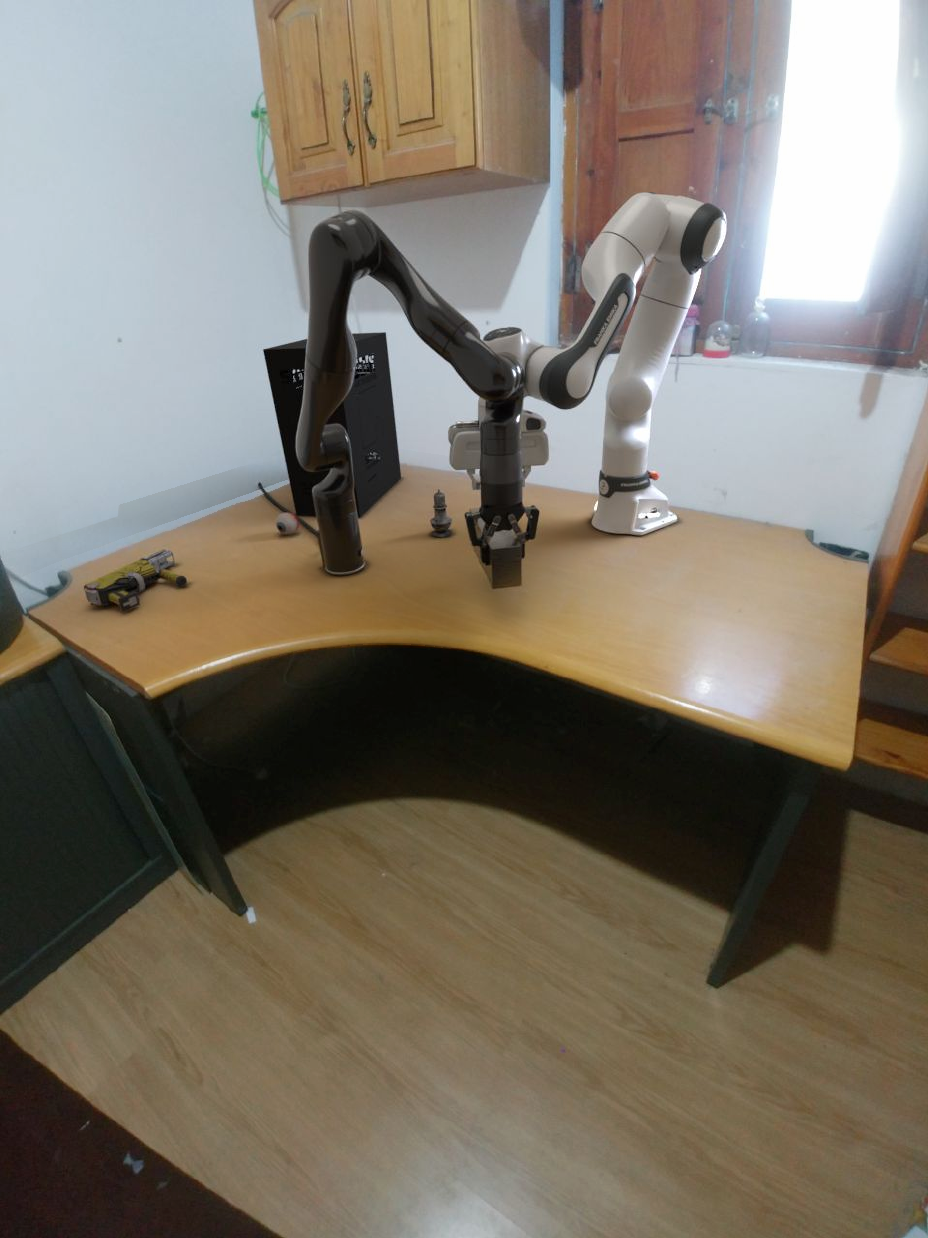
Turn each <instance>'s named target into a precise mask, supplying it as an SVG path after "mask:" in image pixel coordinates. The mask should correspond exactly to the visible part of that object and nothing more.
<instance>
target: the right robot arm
mask: <svg viewBox="0 0 928 1238" xmlns="http://www.w3.org/2000/svg"><path fill="white" fill-rule="evenodd" d="M727 230H728V224H727V218H726V213H725V212H724V210H722V208H720V207H718V206H716V205H714V204H712V203H710V202H705V203H704V202H702V201H699V200H697V199H694V198H691V197H688V196H683V195H672V194H661V193H657V194H656V193H655V192H653V191H644V192H638V193H635V194H634V195H632V196H631V197H630V198H628V199H627V201H625V203H624V204H623V205H622V206H621V207H620V208H619V209H618V210H617V211H616V212H615V213H614V214H613V215H612V217H611V218H610V219H609V221H608V222H607V223H606V224H605V226H604V227H603V228H602V229H601V231H600V232H599V234H598V235H597V237H596V238H595V240H594V241H593V242H592V244H591V246H590V247H589V249H588V251H587V252H586V254H585V257H584V259H583V261H582V264H581V269H580V270H581V271H580V272H581V280H582V285H583V287H584V288H585V290H586V292H587V293H588V294H589V295H590V297H591V298H592V299H593V301H594V307H593V310H592V311H591V313H590V315H589V316H588V318H587V320H586V322H585V324H584V325H583V327H582V329H581V331H580V332H579V334H578V337H577V338H576V340H575V341H574V342H573V343H572V344H571V345H569V346H567V347H564V348H558V347H553V346H549V345H544V344H543V343H540V342H538V341H536V340H534V339H533V338H532V337H530V336H528V335H527V334H526V333H525V332H524V331H523V329H522V328H520V327H516V326H507V327H499V328H495V329H493V330H491V331H488V333H486V334H485V335H484V336H483V338H482V339H481V340H482V341H483V342H484V343H485V344H486V345H487V346H488V347H489V348H490V349H491V350H493V351H494V352H495V353H496V354H497V353H500V352H509V353H512V354H514V355H515V356H517V357H518V359H519V360H520V361H521V363H522V365H523V368H524V374H525V388H524V398H523V402H524V400H525V398H527V397H530V398H533V399H536V400H538V401H542V402H546V403H547V404H549V405H551V406H553V407H555V408H557V409H559V410H564V411H565V410H572V409H575V408H577V407H578V406H580V405H581V404H582V403H584V401H585V400H586V399H587V398H588V397H589V395H590V394H591V391H592V389H593V387H594V384H595V381H596V379H597V375H598V373H599V370H600V367H601V366H602V363H603V361H604V360H605V358H606V356H607V354H608V352H609V351H610V349H611V347H612V345H613V343H614V341H615V339H616V338H617V336H618V335H619V333H620V330H621V329H622V327H623V326H624V323H625V321H626V319H627V317H628V316H629V313H630V312H631V310H632V307H633V304H634V302H635V299H636V295H637V289H636V287H637V285H638V282H639V281H640V279H641V277H642V276H643V274H644V273H645V272H646V270H647V269H648V267H649V265H650V264H651V262H652V261H654V263H653V265H652V266H651V268H650V271H649V273H648V275H647V278H646V279H645V281H644V283H643V286H642V288H641V292H640V295H639V297H638V299H637V302H636V305H635V308H634V311H633V313H632V316H631V319H630V322H629V324H628V328H627V329H626V333H625V335H624V338H623V342H622V345H621V347H620V351H619V354H618V357H617V360H616V361H615V365H614V368H613V371H612V372H611V374H610V376H609V378H608V381H607V385H606V390H605V413H604V423H603V424H604V427H603V438H602V439H603V440H602V453H601V468H600V470H599V474H598V492H599V493H598V498H597V502H596V503H595V506H594V514H593V517H592V520H591V525H592V526H593V527H594V528H595V529H597V530H599V531H601V532H605V533H611V534H623V535H625V534H626V535H632V536H633V535H634V536H645V535H646V534H650V533H652V532H654V531H657V530H660V529H662V528H665V527H668V526H670V525H672V524H675V523H677V522H678V516H677V515H676V514H675V513H674V512H672V511H670V503H669V502H670V501H669V498H668V497H667V496H666V495H665V494H664V493H663V492H661V491H660V490H659V489H658V488H656V487H655V486H654V485H652V483H651V480H653V481H658V479H659V478H660V473H659V472H657V471H654V470H651V471H649V470H648V469H647V466H648V458H649V457H648V455H649V446H650V436H651V419H652V407H653V404H654V402H655V400H656V397H657V394H658V391H659V389H660V386H661V385H662V384H661V383H662V380H663V378H664V376H665V373H666V370H667V367H668V364H669V361H670V358H671V355H672V352H673V349H674V346H675V344H676V341H677V340H678V337H679V334H680V331H681V330H682V327H683V324H684V322H685V319H686V317H687V315H688V312H689V309H690V307H691V305H692V302H693V299H694V296H695V293H696V290H697V287H698V284H699V280H700V276H701V272H702V269H703V268H705V267H706V266H708V265H709V264H710V263H711V262H712V261H713V260H715V257H716V256H717V255H718V253H719V252H720V250H721V248H722V246H723V244H724V241H725V239H726V235H727ZM485 402H486V400H484V399H482V398H481V397H479V396H478V400H477V420H467V421H455V423H453V424H451V425H450V427H449V428H448V431H447V433H448V434H447V439H448V442H449V444H450V446H449V454H448V455H449V459H448V460H449V465H450V467H451V468H452V469H453V470H454V471H466V473H467V475H468V477H469V479H470V480H471V489H472V491H481V485H480V478H479V479H476V478H475V477H474V475H476V470H480V457H481V444H480V425H481V421H482V419H483V417H484V414H485ZM520 427H521V456H522V488H525V486H526V479H527V478H528V476H529V475H530V473H531V471H532V467H538V466H545V465H546V464H547V463H548V462H549V459H550V440H549V435H548V434H547V432H546V431H545V429H546V428H547V420H546V419H545V418H544V417H543V416H542V415H540V414H538V413H537V412H534V411H530V410H527V409H524V405H523V406H522V413H521V421H520Z"/></svg>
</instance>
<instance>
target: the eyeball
mask: <svg viewBox="0 0 928 1238" xmlns="http://www.w3.org/2000/svg"><path fill="white" fill-rule="evenodd" d="M292 513H293V512H292ZM292 513H288V512H285V511H284V512H282V513H280V514H279V515H278V516H277V517H276V520H275V527H276V529H277V530H278V531H279V532H280V533H281V534H282V535H285V536H286V535H287V536H289V535H293V534H295V533H296V532H297V531H298V529H299V525H300V522H299V521H298V519H297V517H296V516H297V515H296V514H295V515H296V516H295V515H294V513H293V514H292Z"/></svg>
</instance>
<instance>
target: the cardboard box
mask: <svg viewBox="0 0 928 1238" xmlns="http://www.w3.org/2000/svg"><path fill="white" fill-rule="evenodd" d="M352 335H353V338H354V340H355V344H356V348H357V362H356V369H355V375H354V381H353V384H352V387H351V389H350V391H349V393H348V394H347V396H346V397H345V399H344V400H343V401H342V403H341V404H340V405H339V406H338V408H337V409H336V410H335V411H334V412H333V413H332V415H331V416H330V417H329V419H328V420H327V422H326V424H330V423H339V424H341V425H342V426H343V427H344V428H345V430H346V432H347V434H348V437H349V440H350V445H351V453H352V464H353V475H354V495H355V502H356V509H357V515H358V518H361V517H362V516H363V515H364V514H365V513H367V511H369V510H370V508H372V507H373V506H374V505H375V504H376V503H377V502H378V501H379V500H380V499H381V498H382V497H383V496H384V495H385V494H386V493H388V491H389V490H390V489H391V488H392V487H394V486H395V485H396V484H397V483H398V481H400V480H401V479H402V472H401V471H402V470H401V462H400V453H399V444H398V433H397V426H396V425H397V424H396V414H395V405H394V396H393V387H392V378H391V367H390V357H389V349H388V339H387V332H386V331H384V332H359V333H356V332H355V333H352ZM306 346H307V338H305V339H301V340H297V341H293V342H292V341H291V342H288V343H284V344H280V345H275V346H271V347H267V348H263V349H262V352H263V356H264V362H265V366H266V371H267V377H268V381H269V386H270V392H271V396H272V402H273V407H274V411H275V416H276V421H277V422H276V423H277V426H278V430H279V431H278V432H279V437H280V442H281V446H282V451H283V456H284V461H285V466H286V472H287V476H288V481H289V486H290V492H291V496H292V502H293V506H294V510H295V511H294V512H295V515H296V516H313V517H316V511H315V506H314V501H313V495H312V489H313V487H314V486H315V485H316V484H317V483H319V482H320V481H322V480H323V479H324V478H325V477H326V476H327V475H328V473H329V472H330V469H328V470H323V471H319V472H309V471H306V470H305V469H303V468H302V466H301V465H300V463H299V461H298V458H297V453H296V434H297V428H298V423H299V418H300V413H301V407H302V401H303V391H304V373H305V357H306ZM366 357H367V359H366ZM360 359H361V361H360Z"/></svg>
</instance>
